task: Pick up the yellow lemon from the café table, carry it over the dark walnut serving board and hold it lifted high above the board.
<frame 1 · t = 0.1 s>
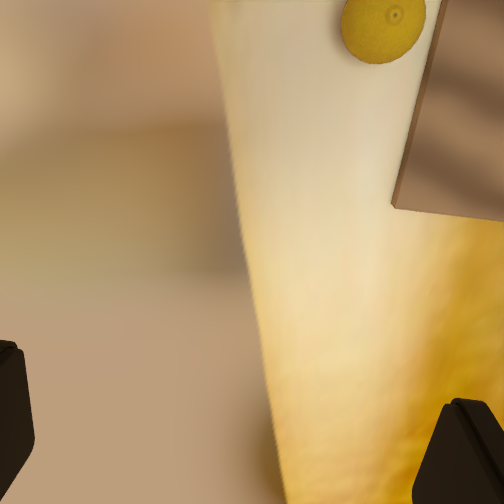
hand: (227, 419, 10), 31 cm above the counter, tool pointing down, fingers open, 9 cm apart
lemon: (369, 26, 34), on the counter
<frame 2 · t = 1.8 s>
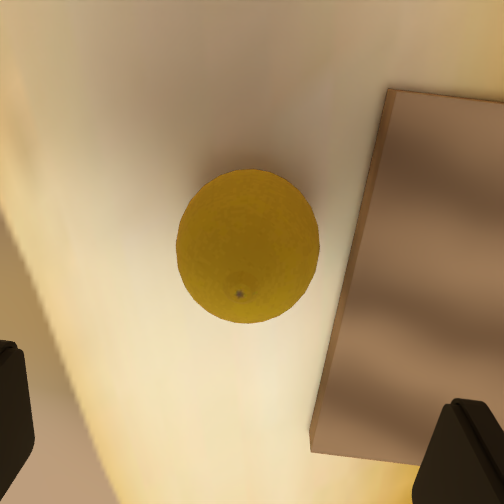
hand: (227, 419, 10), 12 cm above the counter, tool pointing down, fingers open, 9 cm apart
lemon: (253, 207, 21), on the counter
serving board: (494, 312, 22), on the counter
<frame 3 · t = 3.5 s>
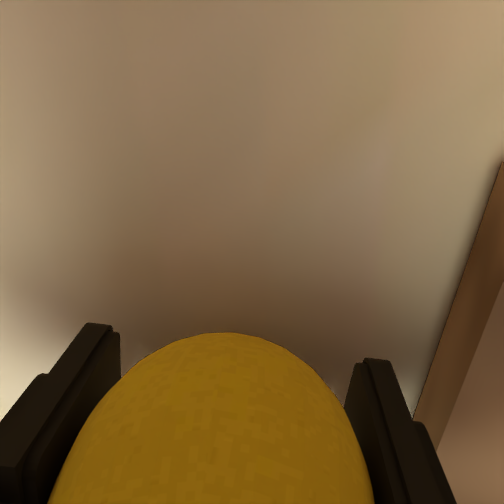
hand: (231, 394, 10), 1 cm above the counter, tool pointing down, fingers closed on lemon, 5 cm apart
lemon: (237, 359, 12), on the counter, touching gripper
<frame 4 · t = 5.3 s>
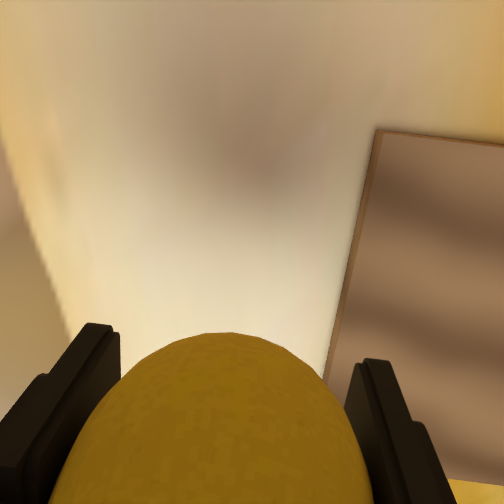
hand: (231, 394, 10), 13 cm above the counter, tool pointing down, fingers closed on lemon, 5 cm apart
lemon: (237, 359, 12), point 12 cm above the counter, touching gripper
serving board: (477, 327, 24), on the counter
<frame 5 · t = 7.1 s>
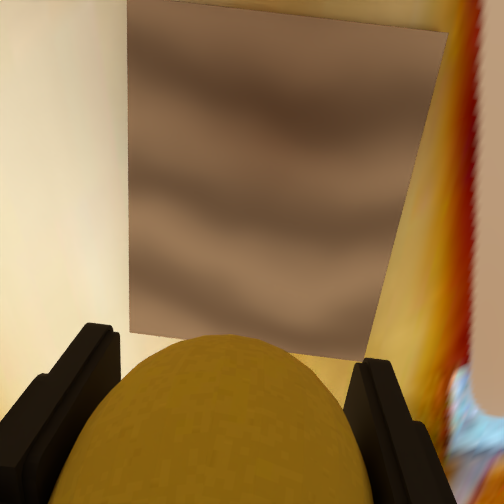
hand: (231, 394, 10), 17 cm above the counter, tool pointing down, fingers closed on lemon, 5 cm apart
lemon: (236, 360, 12), point 16 cm above the counter, touching gripper
serving board: (264, 199, 26), on the counter
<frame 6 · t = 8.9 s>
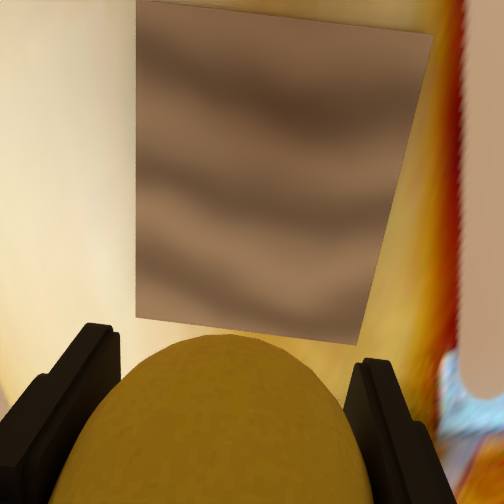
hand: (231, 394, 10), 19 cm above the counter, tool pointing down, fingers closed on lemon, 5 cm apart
lemon: (236, 360, 12), point 18 cm above the counter, touching gripper
serving board: (263, 191, 28), on the counter
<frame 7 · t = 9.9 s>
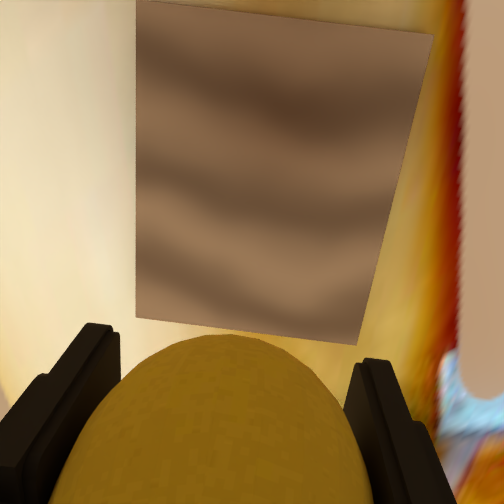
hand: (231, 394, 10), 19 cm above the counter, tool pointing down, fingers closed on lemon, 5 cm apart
lemon: (236, 360, 12), point 18 cm above the counter, touching gripper
serving board: (263, 191, 28), on the counter
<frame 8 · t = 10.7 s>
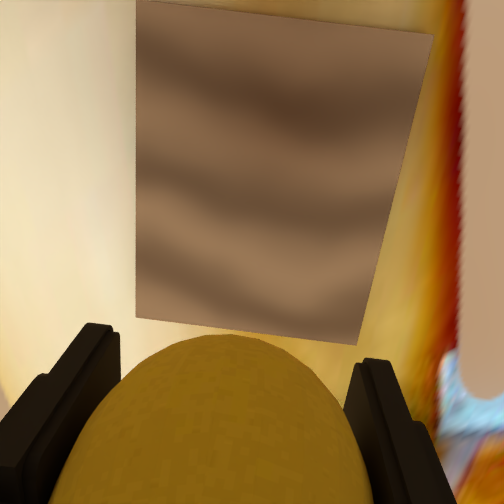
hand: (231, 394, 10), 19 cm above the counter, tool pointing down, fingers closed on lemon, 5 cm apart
lemon: (236, 360, 12), point 18 cm above the counter, touching gripper
serving board: (263, 191, 28), on the counter
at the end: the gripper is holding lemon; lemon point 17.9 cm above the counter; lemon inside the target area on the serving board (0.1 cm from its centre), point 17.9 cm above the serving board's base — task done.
